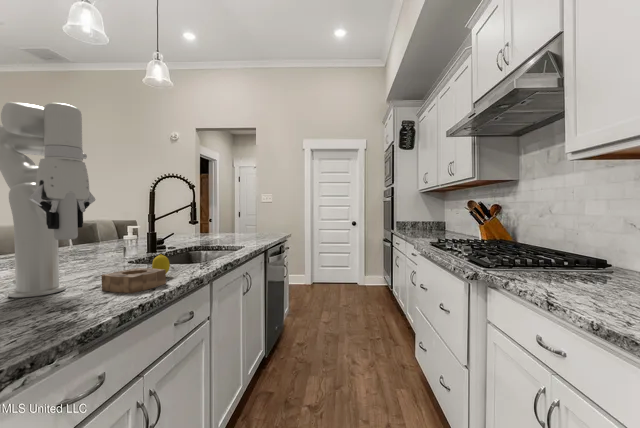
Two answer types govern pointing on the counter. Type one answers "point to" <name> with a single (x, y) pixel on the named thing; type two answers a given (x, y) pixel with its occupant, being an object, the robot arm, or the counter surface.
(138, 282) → the socket block
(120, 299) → the counter surface
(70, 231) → the beverage can
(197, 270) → the counter surface
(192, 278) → the counter surface
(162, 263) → the lemon
